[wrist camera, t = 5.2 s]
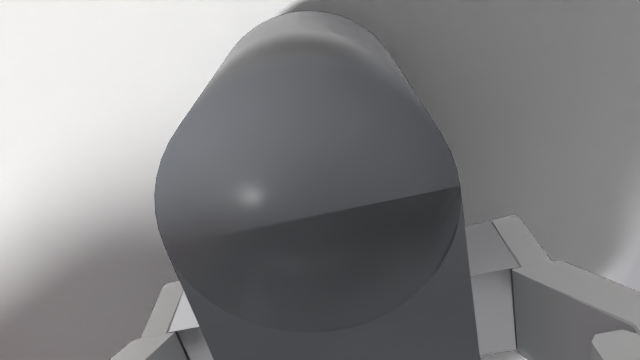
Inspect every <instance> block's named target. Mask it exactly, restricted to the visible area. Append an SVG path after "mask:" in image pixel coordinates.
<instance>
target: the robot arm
mask: <svg viewBox="0 0 640 360" xmlns="http://www.w3.org/2000/svg"><path fill="white" fill-rule="evenodd" d="M465 233H466V242H467V250H468V259H469V267H470V276H471V285H472V293H473V302H474V310H475V319H476V327H477V336H478V345H479V353H480V355H486V354H493V353H500V352H507V351H514V350H517V351H518V353H519V354H521V355H522V356H523V357H525V358H526V359H527V360H640V292H639V291H637V290H634V289H632V288H629V287H627V286H624V285H622V284H619V283H616V282H614V281H611V280H609V279H606V278H604V277H601V276H599V275H596V274H594V273H591V272H588V271H586V270H583V269H581V268H578V267H576V266H573V265H571V264H568V263H566V262H563V261H560V260H557V261H551V260H550V259H549V257H548V256H547V255H546V253H545V252H544V250H543V249H542V248H541V246H540V245H539V244H538V242H537V241H536V240H535V238H534V237H533V236H532V234H531V233H530V232H529V230H528V229H527V227H526V226H525V225H524V223H523V222H522V221H521V219H520V218H519V217H518V216H516V215H511V216H506V217H502V218H498V219H493V220H489V221H486V222H481V223H477V224H472V225H468V226H465ZM110 360H214V359H213V357H212V355H211V352H210V350H209V348H208V345H207V343H206V341H205V338H204V336H203V334H202V332H201V329H200V327H199V325H198V322H197V320H196V318H195V315H194V313H193V311H192V308H191V306H190V304H189V302H188V299H187V297H186V295H185V292H184V290H183V288H182V285H181V283H180V281H175V282H170V283H167V284H166V285H164V286H163V287H162V290H161V292H160V294H159V296H158V299H157V301H156V303H155V306H154V308H153V310H152V313H151V315H150V317H149V320H148V322H147V324H146V327H145V329H144V331H143V334H142V336H141V338H140V339H135V340H132V341H131V342H130V343H129V344H128V345H126V346H125V347H124V348H123V349H122V350H121V351H119V352H118V353H117V354H116V355H115V356H113V357H112V358H111V359H110Z"/></svg>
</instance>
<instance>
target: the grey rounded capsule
mask: <svg viewBox="0 0 640 360" xmlns="http://www.w3.org/2000/svg"><path fill="white" fill-rule="evenodd" d="M155 214H156V219H157V224H158V229H159V232H160V235H161V238H162V241H163V243H164V246H165V249H166V251H167V253H168V255H169V258H170V260H171V262H172V265H173V267H174V269H175V272H176V274H177V276H178V278H179V281H180V283H181V285H182V288H183V290H184V292H185V295H186V297H187V299H188V302H189V304H190V306H191V308H192V311H193V313H194V315H195V318H196V320H197V322H198V325H199V327H200V329H201V332H202V334H203V336H204V338H205V341H206V343H207V345H208V348H209V350H210V352H211V355H212V357H213V359H214V360H480V353H479V345H478V336H477V327H476V319H475V310H474V302H473V293H472V285H471V276H470V267H469V259H468V250H467V242H466V233H465V225H464V216H463V207H462V199H461V190H460V183H459V178H458V173H457V168H456V165H455V163H454V160H453V157H452V154H451V151H450V149H449V148H448V146H447V144H446V142H445V140H444V138H443V136H442V135H441V133H440V131H439V130H438V128H437V127H436V125H435V124H434V122H433V120H432V119H431V117H430V116H429V114H428V113H427V111H426V109H425V108H424V106H423V105H422V103H421V102H420V100H419V98H418V97H417V95H416V94H415V92H414V91H413V89H412V87H411V86H410V84H409V83H408V81H407V80H406V78H405V77H404V75H403V73H402V72H401V70H400V69H399V67H398V66H397V64H396V62H395V61H394V59H393V58H392V56H391V55H390V53H389V52H388V50H387V49H386V48H385V46H384V45H383V44H382V43H381V42H380V41H379V40H378V39H377V38H376V37H375V36H374V35H373V34H372V33H371V32H369V31H368V30H367V29H365V28H364V27H363V26H361V25H359V24H357V23H356V22H354V21H352V20H350V19H347V18H345V17H342V16H340V15H336V14H332V13H328V12H320V11H298V12H292V13H286V14H283V15H280V16H277V17H274V18H271V19H269V20H267V21H265V22H263V23H261V24H260V25H258V26H257V27H255V28H254V29H252V30H251V31H249V32H248V33H247V34H246V35H245V36H244V37H243V38H241V40H240V41H239V42H238V43H237V44H236V45H235V47H234V48H233V49H232V50H231V52H230V53H229V55H228V56H227V58H226V59H225V60H224V62H223V63H222V65H221V66H220V68H219V69H218V71H217V72H216V73H215V75H214V76H213V78H212V79H211V81H210V82H209V84H208V85H207V86H206V88H205V89H204V91H203V92H202V94H201V95H200V97H199V98H198V99H197V101H196V102H195V104H194V105H193V107H192V108H191V110H190V111H189V112H188V114H187V115H186V117H185V118H184V120H183V121H182V123H181V124H180V125H179V127H178V129H177V130H176V132H175V133H174V135H173V136H172V138H171V140H170V141H169V143H168V145H167V147H166V150H165V152H164V154H163V156H162V159H161V162H160V166H159V170H158V173H157V177H156V186H155Z"/></svg>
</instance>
